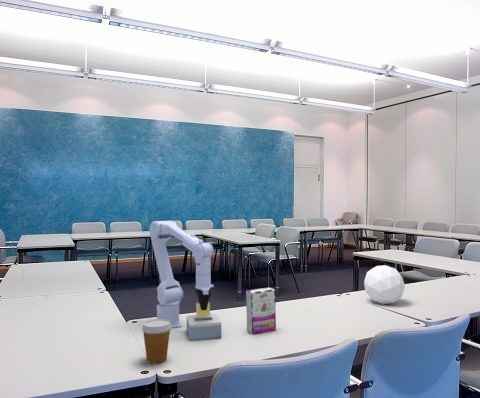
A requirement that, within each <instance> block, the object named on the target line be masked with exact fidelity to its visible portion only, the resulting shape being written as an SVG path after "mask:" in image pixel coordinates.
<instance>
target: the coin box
mask: <svg viewBox="0 0 480 398" xmlns="http://www.w3.org/2000/svg"><path fill="white" fill-rule="evenodd" d="M186 334H187V337H188V340H189V342H192V341H195V342H197V341H206V340H217V339H222V321H221V319H220V318H219V316H218V314H217V313H210V316H204V317H197V316H196V314H193V315H191V314H190V315H186Z"/></svg>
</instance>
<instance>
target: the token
mask: <svg viewBox="0 0 480 398" xmlns="http://www.w3.org/2000/svg"><path fill="white" fill-rule="evenodd" d="M195 306H196V307H195V309H196V310H195V311H196V313H195V315H196V316H197V317H204V316H210V314H211V303H210V301H208V306H207V310H201V307H200V303H199V302H196V304H195Z"/></svg>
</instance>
